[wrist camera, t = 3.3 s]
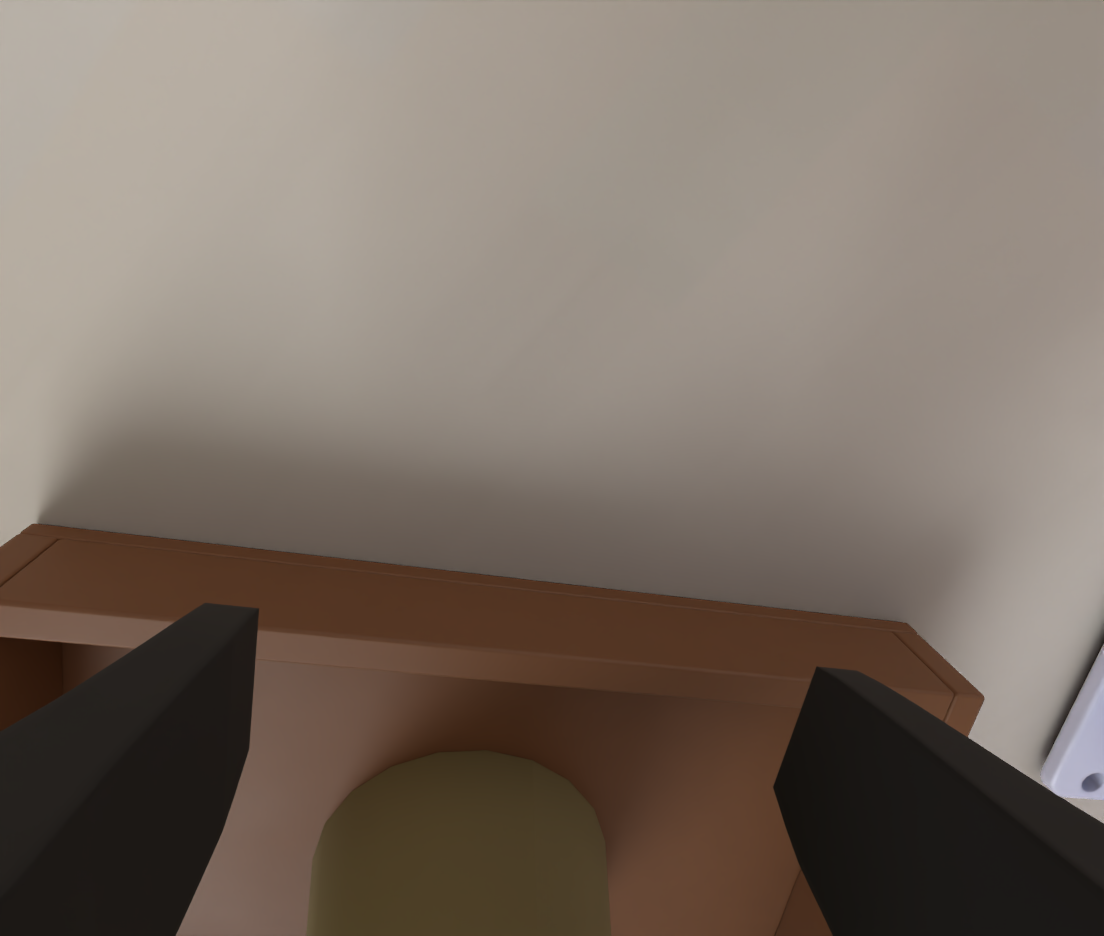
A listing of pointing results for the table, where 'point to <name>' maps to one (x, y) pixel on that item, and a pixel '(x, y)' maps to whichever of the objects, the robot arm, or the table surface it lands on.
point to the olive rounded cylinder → (461, 854)
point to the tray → (476, 709)
